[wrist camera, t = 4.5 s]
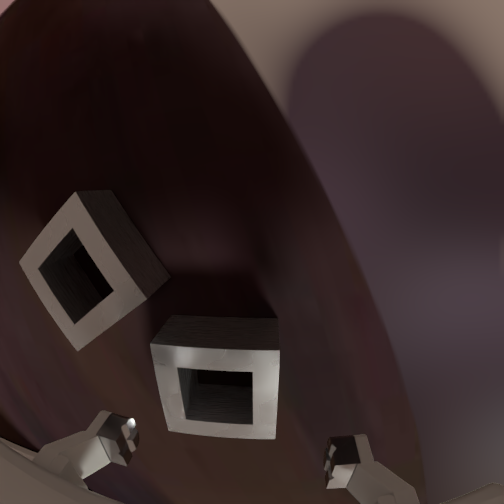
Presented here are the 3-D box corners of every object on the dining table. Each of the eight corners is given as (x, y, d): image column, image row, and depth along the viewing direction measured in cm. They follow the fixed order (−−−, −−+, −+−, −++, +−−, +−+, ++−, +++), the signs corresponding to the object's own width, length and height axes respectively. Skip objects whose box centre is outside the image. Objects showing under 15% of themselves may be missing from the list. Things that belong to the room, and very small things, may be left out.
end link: (183, 395, 17) (168, 430, 14) (171, 314, 16) (149, 343, 13) (274, 400, 17) (275, 439, 14) (277, 318, 16) (280, 350, 12)
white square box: (105, 325, 17) (77, 351, 13) (54, 249, 16) (19, 262, 12) (171, 276, 16) (146, 299, 12) (111, 189, 15) (75, 191, 12)
